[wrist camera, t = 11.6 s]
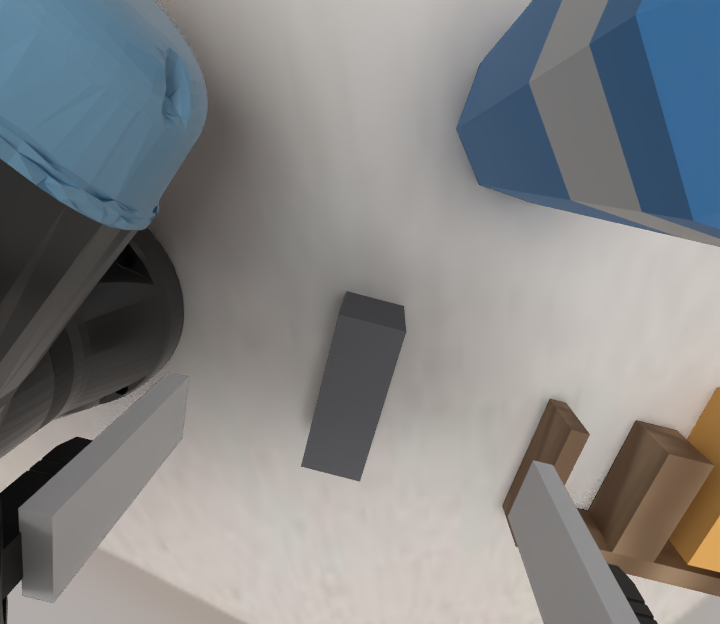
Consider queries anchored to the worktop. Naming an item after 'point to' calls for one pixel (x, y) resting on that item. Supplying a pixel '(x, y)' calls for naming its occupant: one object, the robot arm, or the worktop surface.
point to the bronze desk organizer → (630, 495)
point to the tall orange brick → (703, 497)
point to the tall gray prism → (354, 385)
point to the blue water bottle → (605, 113)
